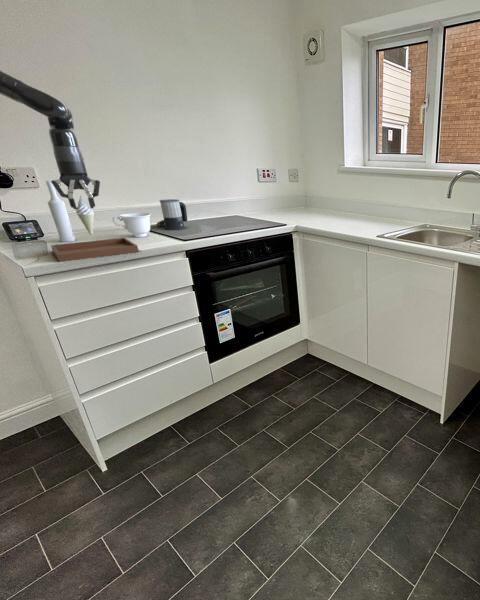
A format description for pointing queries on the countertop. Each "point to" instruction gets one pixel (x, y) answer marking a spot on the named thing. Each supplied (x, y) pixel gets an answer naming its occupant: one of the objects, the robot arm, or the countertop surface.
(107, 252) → the serving tray
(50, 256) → the countertop surface
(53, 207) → the bottle
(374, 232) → the countertop surface
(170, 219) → the milk frother
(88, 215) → the ice cream cone
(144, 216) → the teacup
